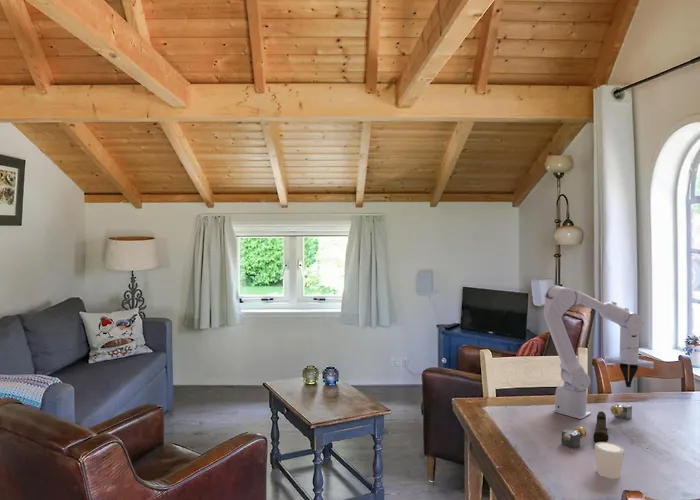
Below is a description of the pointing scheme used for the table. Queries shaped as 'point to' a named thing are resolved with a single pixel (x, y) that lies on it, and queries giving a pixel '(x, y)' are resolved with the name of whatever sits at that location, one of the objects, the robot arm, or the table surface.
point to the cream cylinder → (609, 459)
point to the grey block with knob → (622, 410)
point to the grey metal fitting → (573, 437)
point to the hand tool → (601, 429)
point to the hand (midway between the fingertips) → (628, 386)
